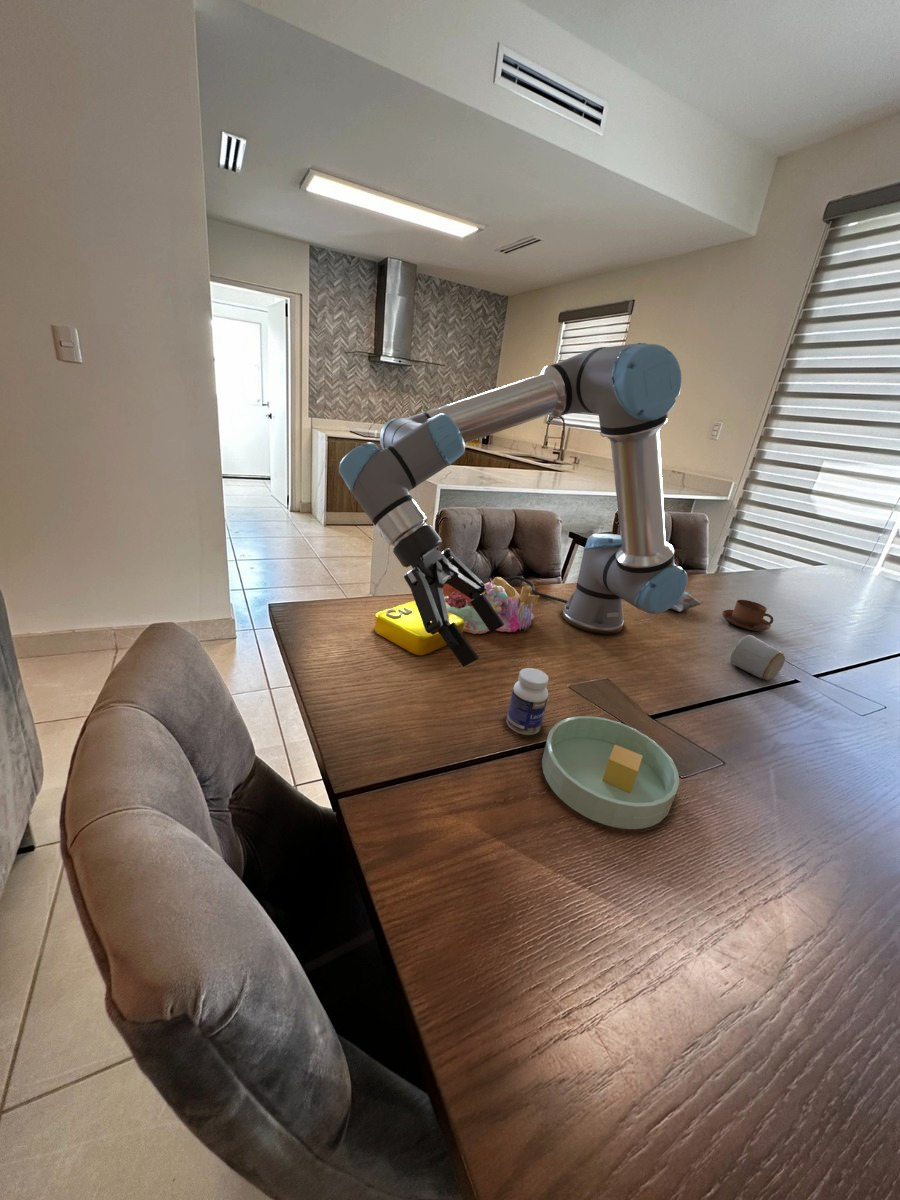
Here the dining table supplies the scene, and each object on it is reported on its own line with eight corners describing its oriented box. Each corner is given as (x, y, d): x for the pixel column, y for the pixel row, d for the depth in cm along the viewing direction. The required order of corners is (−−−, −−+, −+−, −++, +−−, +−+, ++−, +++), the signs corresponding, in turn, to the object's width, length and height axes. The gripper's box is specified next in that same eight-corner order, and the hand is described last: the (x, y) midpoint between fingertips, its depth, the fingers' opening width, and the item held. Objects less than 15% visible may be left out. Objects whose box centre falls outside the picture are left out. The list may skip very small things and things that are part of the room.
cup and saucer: (768, 625, 135) (776, 605, 132) (768, 639, 125) (777, 618, 123) (721, 612, 140) (729, 593, 138) (718, 624, 130) (726, 604, 128)
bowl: (516, 766, 69) (521, 742, 68) (587, 725, 81) (593, 703, 79) (625, 857, 57) (635, 830, 55) (692, 793, 68) (702, 769, 67)
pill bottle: (531, 742, 75) (543, 689, 71) (500, 727, 78) (509, 675, 74) (545, 725, 79) (557, 674, 76) (515, 711, 82) (525, 661, 78)
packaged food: (699, 610, 139) (704, 595, 137) (678, 617, 132) (683, 601, 130) (672, 600, 145) (676, 585, 143) (650, 606, 138) (655, 590, 136)
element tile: (419, 658, 95) (421, 637, 93) (370, 630, 104) (371, 611, 102) (465, 637, 106) (468, 618, 104) (418, 614, 115) (420, 596, 113)
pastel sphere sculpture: (480, 589, 134) (484, 559, 131) (549, 620, 120) (556, 586, 116) (415, 609, 117) (418, 574, 114) (487, 647, 103) (493, 609, 99)
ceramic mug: (762, 685, 101) (776, 654, 98) (725, 666, 107) (737, 636, 104) (785, 676, 106) (799, 646, 104) (749, 658, 113) (761, 630, 110)
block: (602, 780, 68) (608, 759, 66) (608, 765, 71) (614, 744, 70) (630, 793, 66) (638, 771, 65) (635, 776, 69) (642, 755, 68)
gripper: (426, 533, 88) (490, 626, 89) (351, 567, 66) (437, 690, 67) (456, 510, 84) (522, 607, 85) (387, 538, 62) (477, 669, 63)
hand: (485, 644), depth 76 cm, fingers open, 13 cm apart
